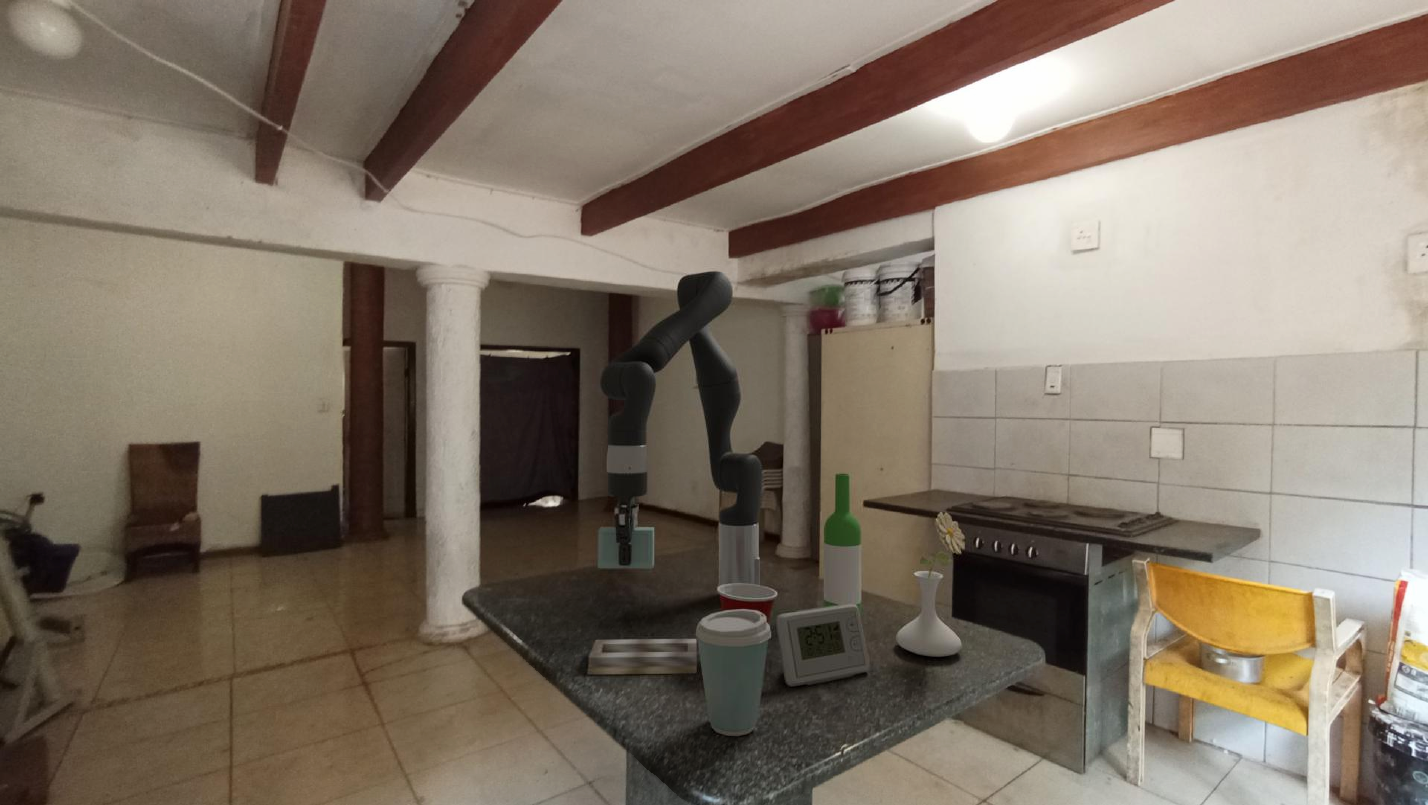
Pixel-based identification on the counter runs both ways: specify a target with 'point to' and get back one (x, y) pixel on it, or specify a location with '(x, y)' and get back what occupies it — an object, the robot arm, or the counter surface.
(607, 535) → the green rectangular block
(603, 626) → the counter surface
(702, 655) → the disposable coffee cup
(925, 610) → the flower in vase
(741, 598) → the plastic cup
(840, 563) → the wine bottle
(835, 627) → the digital clock
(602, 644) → the board
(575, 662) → the counter surface
